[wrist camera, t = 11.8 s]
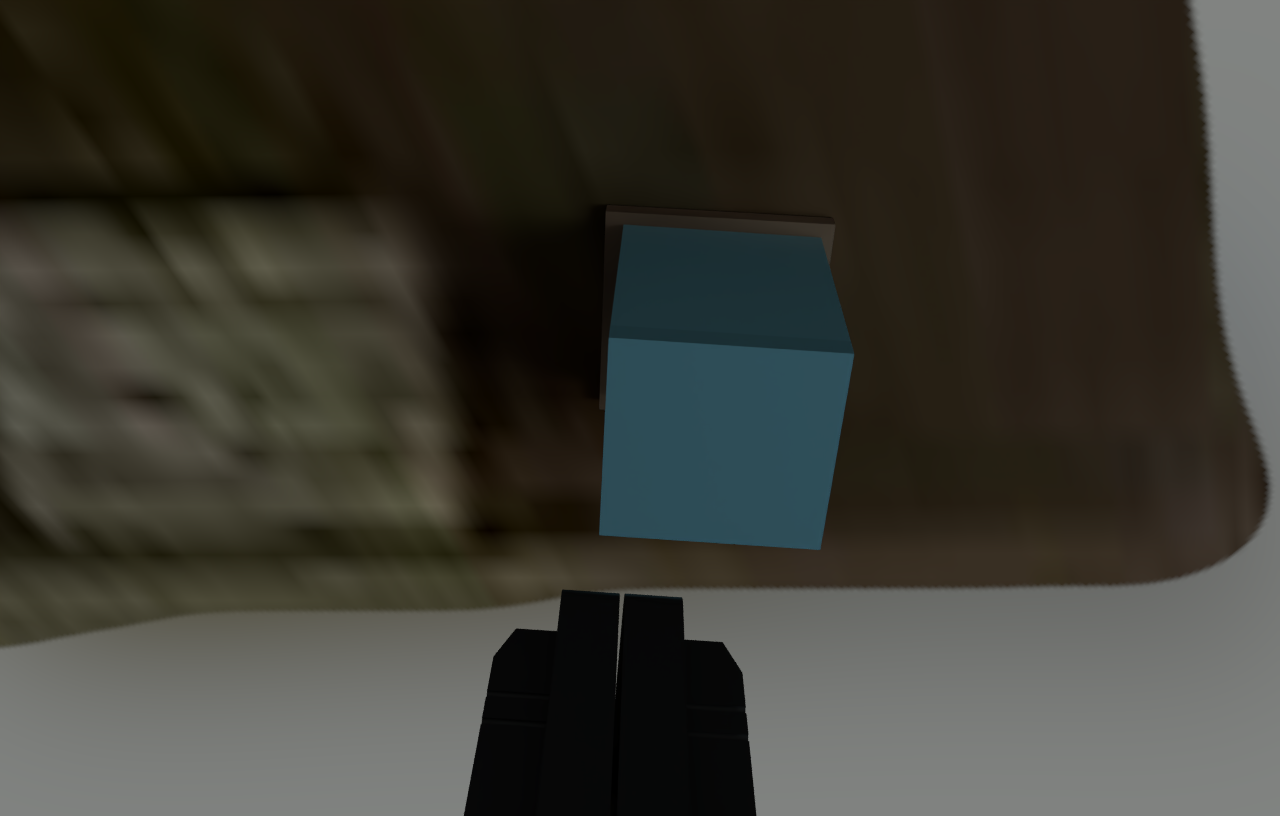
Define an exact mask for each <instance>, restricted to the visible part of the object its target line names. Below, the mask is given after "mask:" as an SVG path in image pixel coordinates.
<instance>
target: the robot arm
mask: <svg viewBox="0 0 1280 816" xmlns="http://www.w3.org/2000/svg"><path fill="white" fill-rule="evenodd" d="M619 601H620V594H619V593H605V592H590V591H576V590H562V594H561V604H560V611H559V621H558V629H557V631H544V630H529V629H515V631H514V632H513V633H512V634H511V635H510V637H509V638H508V639H507V640H506V642H505V643H504V644H503V645H502V647H501V648H500V649H499V650H498V652H497V653H496V654H495V656H494V657H493V662H492V667H491V673H490V678H489V684H488V689H487V697H486V700H485V705H484V711H483V716H482V724H481V726H480V732H479V737H478V742H477V748H476V753H475V758H474V764H473V769H472V775H471V780H470V785H469V791H468V797H467V802H466V807H465V812H464V816H756V808H755V797H754V787H753V777H752V767H751V756H750V747H749V741H748V725H747V715H746V713H745V708H746V706H745V695H744V684H743V674H742V672H741V670H740V668H739V667H738V665H737V664H736V662H735V661H734V659H733V658H732V656H731V655H730V653H729V651H728V650H727V648H726V647H725V645H724V644H723V642H711V641H697V640H684V619H683V618H684V617H683V599H682V597H667V596H652V595H638V594H625V595H624V604H623V615H622V626H621V637H620V649H619V660H618V672H617V683H616V668H617V646H618V624H619ZM615 691H616V695H615Z"/></svg>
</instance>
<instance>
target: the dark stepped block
mask: <svg viewBox="0 0 1280 816" xmlns="http://www.w3.org/2000/svg"><path fill="white" fill-rule="evenodd" d="M623 225H638V226H653V227H668V228H683V229H698V230H713V231H728V232H743V233H759V234H774V235H789V236H804V237H819V238H821V239H822V242H823V246H824V249H825V253H826V256H827V260H828V263H829V266H830V259H831V252H832V245H833V238H834V231H835V222H834V219H833V218H827V217H810V216H793V215H775V214H758V213H740V212H723V211H706V210H688V209H671V208H654V207H636V206H619V205H607V207H606V221H605V250H604V280H603V310H602V340H601V370H600V399H599V409H603V410H605V407H606V386H607V365H608V343H609V332H610V324H611V317H612V309H613V302H614V294H615V286H616V279H617V271H618V263H619V256H620V248H621V241H622V233H623Z"/></svg>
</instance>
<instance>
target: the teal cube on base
mask: <svg viewBox="0 0 1280 816" xmlns="http://www.w3.org/2000/svg"><path fill="white" fill-rule="evenodd" d="M853 358H854V352H853V348H852V345H851V341H850V338H849V334H848V330H847V327H846V323H845V320H844V316H843V313H842V309H841V306H840V302H839V299H838V295H837V292H836V288H835V285H834V281H833V278H832V274H831V270H830V267H829V263H828V260H827V256H826V253H825V249H824V246H823V242H822V239H821V238H819V237H804V236H789V235H774V234H759V233H743V232H728V231H713V230H698V229H683V228H668V227H653V226H638V225H623V233H622V241H621V248H620V256H619V263H618V271H617V279H616V286H615V294H614V302H613V309H612V317H611V324H610V332H609V343H608V365H607V386H606V407H605V428H604V449H603V470H602V491H601V512H600V533H599V535H606V536H621V537H636V538H651V539H666V540H681V541H696V542H711V543H726V544H741V545H756V546H771V547H786V548H801V549H816V550H820V548H821V542H822V536H823V530H824V525H825V519H826V513H827V507H828V502H829V496H830V490H831V484H832V479H833V473H834V467H835V461H836V455H837V450H838V444H839V438H840V432H841V427H842V421H843V415H844V409H845V404H846V398H847V392H848V386H849V381H850V375H851V369H852V363H853Z"/></svg>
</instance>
